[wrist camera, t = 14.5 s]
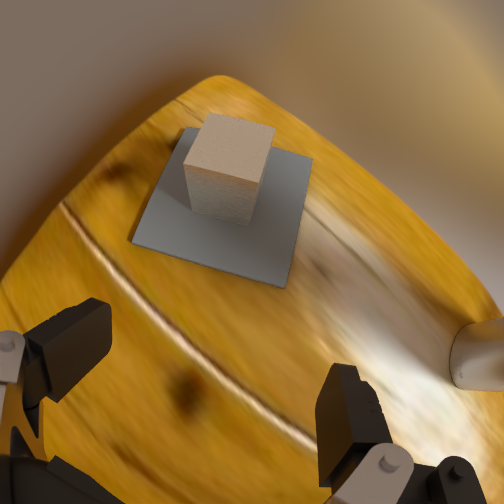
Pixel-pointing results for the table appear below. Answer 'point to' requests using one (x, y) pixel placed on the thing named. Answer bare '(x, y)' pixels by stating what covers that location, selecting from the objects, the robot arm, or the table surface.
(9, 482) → the robot arm
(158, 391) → the table surface
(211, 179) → the block
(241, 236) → the mat
